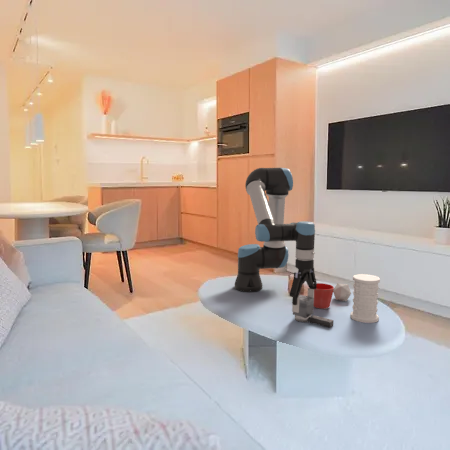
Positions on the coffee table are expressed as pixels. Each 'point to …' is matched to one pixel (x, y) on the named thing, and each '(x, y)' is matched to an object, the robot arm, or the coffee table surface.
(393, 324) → the coffee table surface
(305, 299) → the grey wood-grain cube
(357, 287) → the decorative container
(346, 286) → the die
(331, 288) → the flower pot
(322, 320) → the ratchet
